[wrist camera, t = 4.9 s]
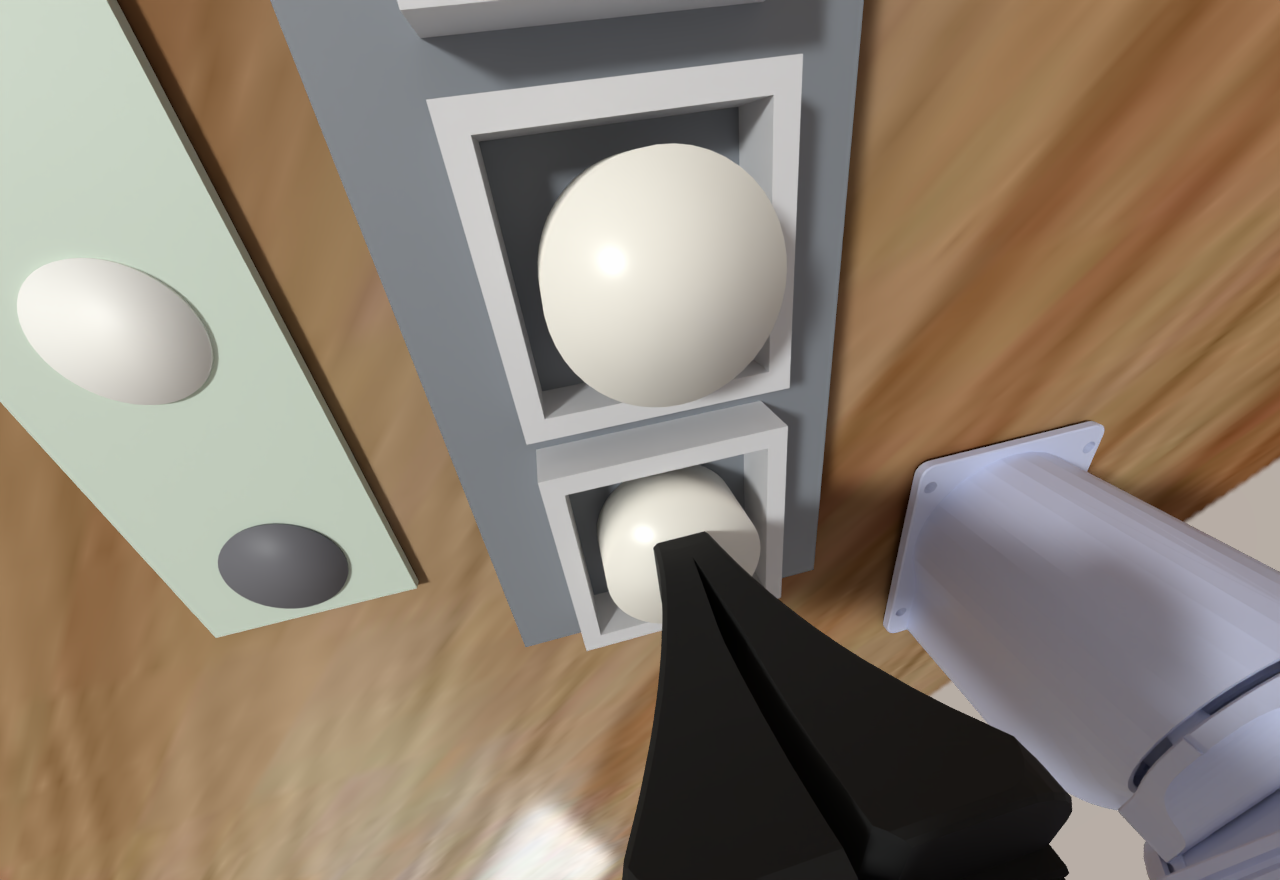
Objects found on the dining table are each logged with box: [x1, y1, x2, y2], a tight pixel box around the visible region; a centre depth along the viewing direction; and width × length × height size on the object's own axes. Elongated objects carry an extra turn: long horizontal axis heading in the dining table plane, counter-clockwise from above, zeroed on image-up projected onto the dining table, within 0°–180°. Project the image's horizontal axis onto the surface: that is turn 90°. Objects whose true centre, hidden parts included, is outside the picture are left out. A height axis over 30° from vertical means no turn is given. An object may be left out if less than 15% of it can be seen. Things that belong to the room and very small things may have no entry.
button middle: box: [537, 143, 787, 407], centre depth 8 cm, size 4×4×2 cm
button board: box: [270, 0, 864, 651], centre depth 10 cm, size 22×10×4 cm, turn 7°
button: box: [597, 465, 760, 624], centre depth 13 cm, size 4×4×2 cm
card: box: [0, 0, 419, 638], centre depth 10 cm, size 18×6×1 cm, turn 7°
